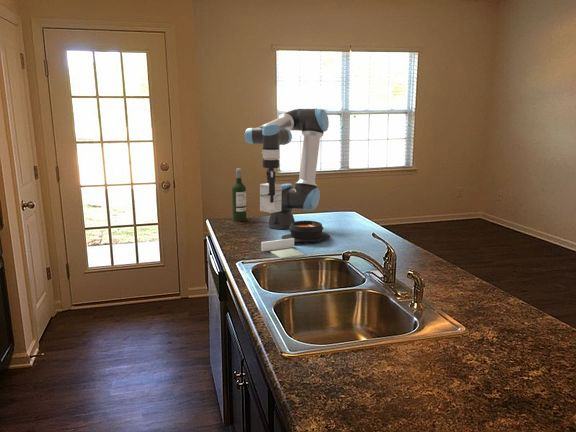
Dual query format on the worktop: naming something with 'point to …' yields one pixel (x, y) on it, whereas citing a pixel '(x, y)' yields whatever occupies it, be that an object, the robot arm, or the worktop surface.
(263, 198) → the supplement box
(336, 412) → the worktop surface
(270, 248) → the acrylic wall
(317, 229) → the casserole
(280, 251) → the sage mat
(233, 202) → the wine bottle
